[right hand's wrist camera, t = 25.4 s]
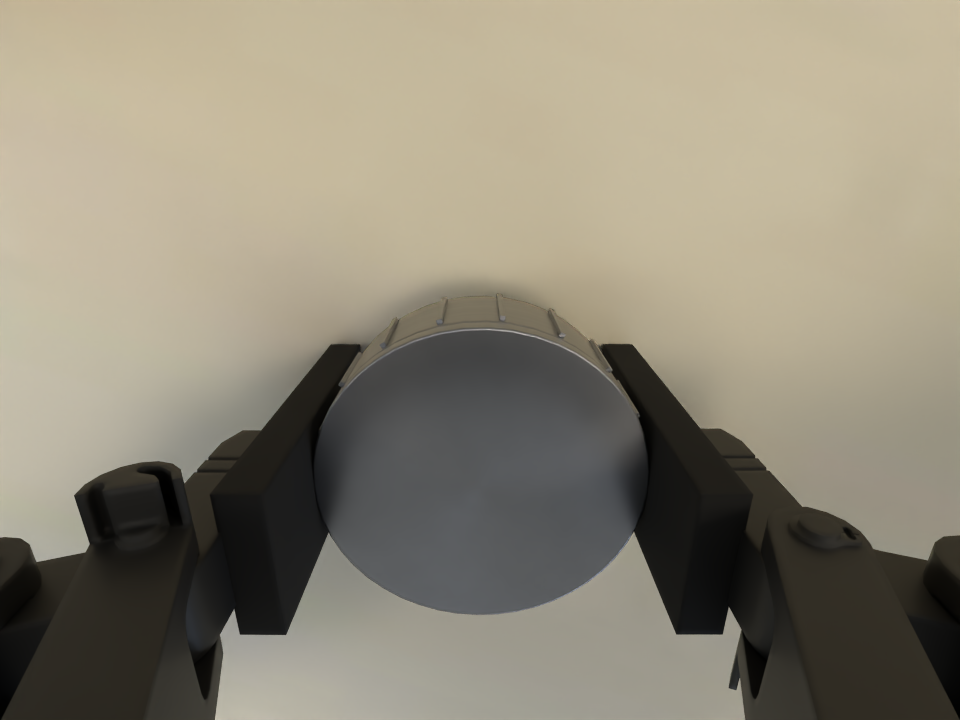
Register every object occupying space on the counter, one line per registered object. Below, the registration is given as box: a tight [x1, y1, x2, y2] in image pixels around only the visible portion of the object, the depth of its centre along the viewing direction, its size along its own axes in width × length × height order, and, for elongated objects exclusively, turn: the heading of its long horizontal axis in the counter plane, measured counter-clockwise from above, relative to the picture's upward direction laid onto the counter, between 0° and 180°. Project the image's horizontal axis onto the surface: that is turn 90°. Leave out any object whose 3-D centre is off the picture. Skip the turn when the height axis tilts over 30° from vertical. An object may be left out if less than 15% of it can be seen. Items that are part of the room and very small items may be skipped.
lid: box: [313, 294, 650, 615], centre depth 11 cm, size 6×6×2 cm
